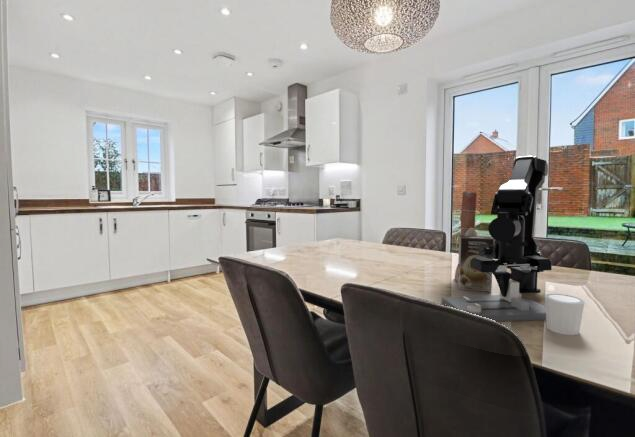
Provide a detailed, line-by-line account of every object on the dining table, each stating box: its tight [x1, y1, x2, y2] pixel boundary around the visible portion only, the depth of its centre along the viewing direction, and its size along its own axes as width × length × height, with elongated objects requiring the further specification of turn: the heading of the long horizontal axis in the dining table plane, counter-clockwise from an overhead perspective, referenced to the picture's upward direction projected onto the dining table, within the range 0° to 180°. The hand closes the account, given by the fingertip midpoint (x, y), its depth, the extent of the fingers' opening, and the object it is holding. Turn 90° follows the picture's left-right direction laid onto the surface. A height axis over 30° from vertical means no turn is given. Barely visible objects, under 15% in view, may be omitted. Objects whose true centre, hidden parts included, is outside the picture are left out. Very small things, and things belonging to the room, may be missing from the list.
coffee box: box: [457, 234, 495, 293], centre depth 102 cm, size 9×6×16 cm
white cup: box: [544, 293, 585, 336], centre depth 71 cm, size 7×7×7 cm
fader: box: [499, 279, 520, 302], centre depth 86 cm, size 2×4×5 cm, turn 5°
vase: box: [454, 191, 478, 282], centre depth 112 cm, size 10×7×30 cm
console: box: [441, 292, 546, 323], centre depth 83 cm, size 22×14×4 cm, turn 94°
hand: (509, 296), depth 86 cm, fingers closed on fader, 2 cm apart
